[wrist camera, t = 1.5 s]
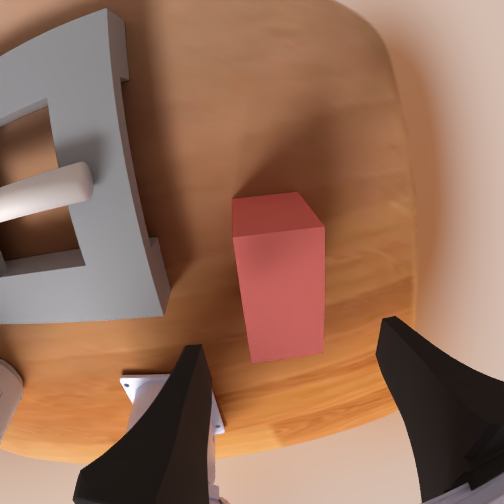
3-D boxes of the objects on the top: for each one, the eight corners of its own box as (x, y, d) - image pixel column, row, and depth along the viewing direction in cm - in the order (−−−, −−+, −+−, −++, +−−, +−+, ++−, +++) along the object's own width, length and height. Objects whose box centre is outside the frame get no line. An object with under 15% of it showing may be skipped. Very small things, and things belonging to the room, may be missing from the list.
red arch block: (302, 295, 22) (322, 353, 17) (246, 302, 22) (251, 363, 17) (297, 191, 19) (324, 226, 14) (231, 199, 19) (232, 237, 14)
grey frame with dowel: (171, 290, 21) (158, 337, 17) (7, 304, 21) (-21, 338, 17) (124, 20, 14) (92, -3, 9) (-48, 104, 13) (-90, 112, 9)
